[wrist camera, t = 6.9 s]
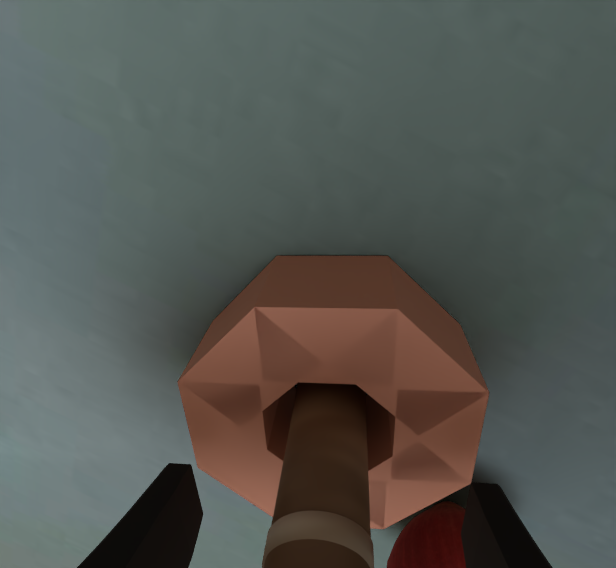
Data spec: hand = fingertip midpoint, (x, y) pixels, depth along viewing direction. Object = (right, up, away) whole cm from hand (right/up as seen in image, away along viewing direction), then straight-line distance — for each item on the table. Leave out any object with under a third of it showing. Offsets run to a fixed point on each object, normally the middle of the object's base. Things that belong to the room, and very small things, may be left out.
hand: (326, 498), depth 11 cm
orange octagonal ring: (+1, +3, +5) cm, 6 cm away
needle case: (+1, +3, +5) cm, 6 cm away
